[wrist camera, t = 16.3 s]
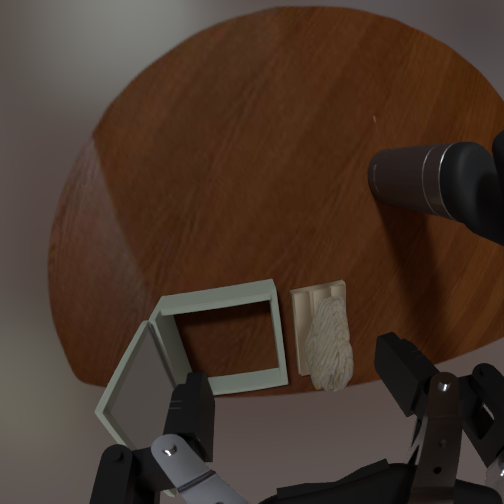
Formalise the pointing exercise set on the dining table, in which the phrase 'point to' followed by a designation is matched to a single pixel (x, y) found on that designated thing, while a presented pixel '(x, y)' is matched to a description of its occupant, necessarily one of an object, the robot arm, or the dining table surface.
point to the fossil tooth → (329, 346)
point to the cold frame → (176, 365)
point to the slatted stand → (309, 314)
